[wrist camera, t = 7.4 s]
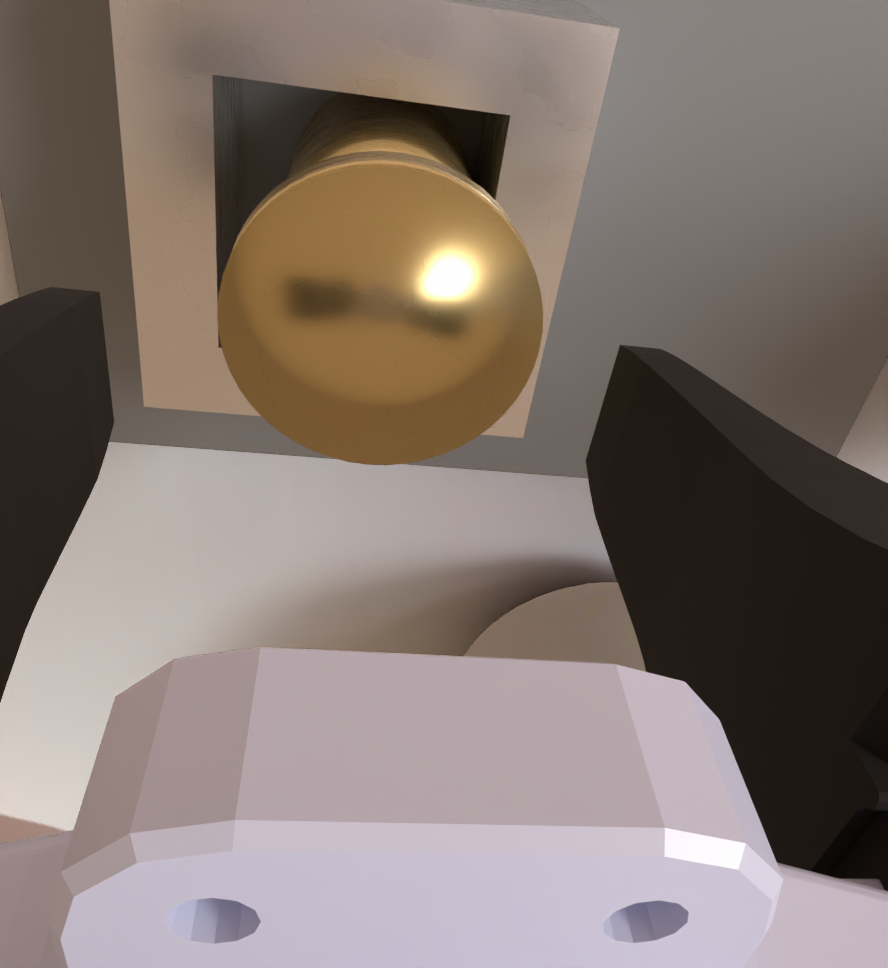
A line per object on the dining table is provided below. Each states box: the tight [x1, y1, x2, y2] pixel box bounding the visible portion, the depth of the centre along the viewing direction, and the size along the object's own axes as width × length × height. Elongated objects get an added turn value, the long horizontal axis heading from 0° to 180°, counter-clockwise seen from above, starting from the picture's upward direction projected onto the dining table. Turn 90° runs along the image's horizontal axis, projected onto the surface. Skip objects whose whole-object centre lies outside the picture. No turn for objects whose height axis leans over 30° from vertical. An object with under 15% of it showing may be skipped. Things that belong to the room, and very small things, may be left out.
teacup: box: [464, 582, 646, 672], centre depth 28 cm, size 14×11×8 cm
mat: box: [0, 0, 888, 478], centre depth 20 cm, size 23×16×1 cm
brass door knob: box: [217, 92, 543, 465], centre depth 16 cm, size 5×5×8 cm
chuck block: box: [109, 0, 620, 438], centre depth 18 cm, size 8×8×4 cm
